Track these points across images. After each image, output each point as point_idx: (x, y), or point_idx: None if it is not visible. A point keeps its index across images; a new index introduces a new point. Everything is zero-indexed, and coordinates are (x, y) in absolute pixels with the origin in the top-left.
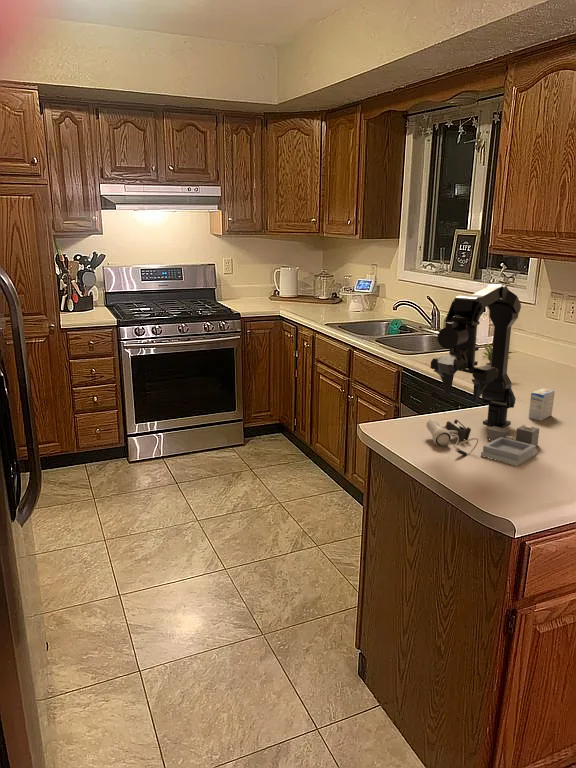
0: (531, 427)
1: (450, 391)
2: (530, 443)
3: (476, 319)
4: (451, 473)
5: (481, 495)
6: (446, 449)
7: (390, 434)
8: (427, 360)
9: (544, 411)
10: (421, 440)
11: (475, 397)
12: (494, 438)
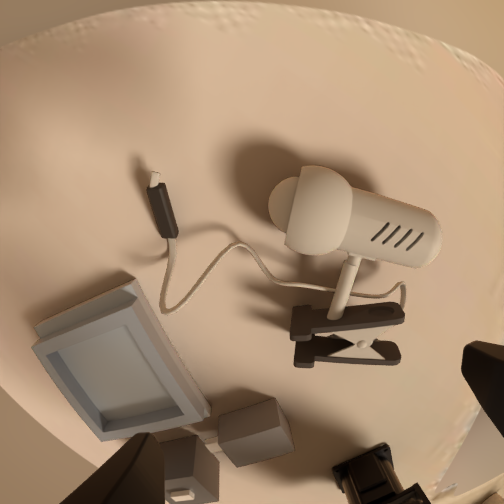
0: (173, 498)
1: (474, 391)
2: None
3: None
4: (55, 83)
5: None
6: (252, 196)
7: (461, 112)
8: None
9: None
10: (381, 168)
11: (103, 465)
12: (249, 414)
